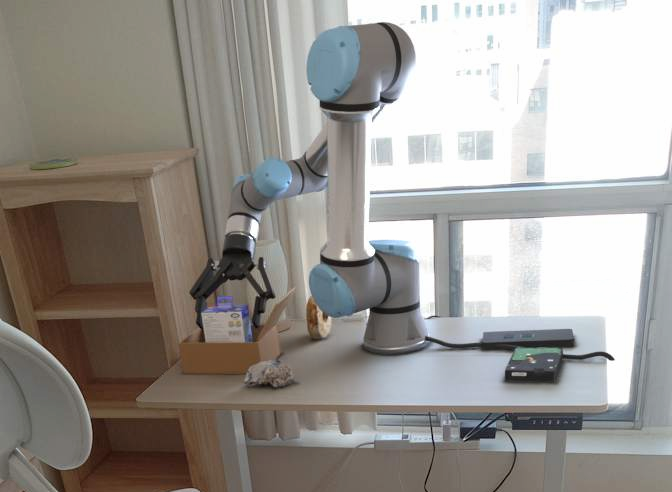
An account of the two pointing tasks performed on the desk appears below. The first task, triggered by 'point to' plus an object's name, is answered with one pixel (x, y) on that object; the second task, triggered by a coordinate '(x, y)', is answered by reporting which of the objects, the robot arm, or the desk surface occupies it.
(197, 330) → the carton
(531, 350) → the disk drive
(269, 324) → the flap
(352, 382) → the desk surface
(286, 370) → the mineral specimen
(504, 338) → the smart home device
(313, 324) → the stone disc
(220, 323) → the ink cartridge box
